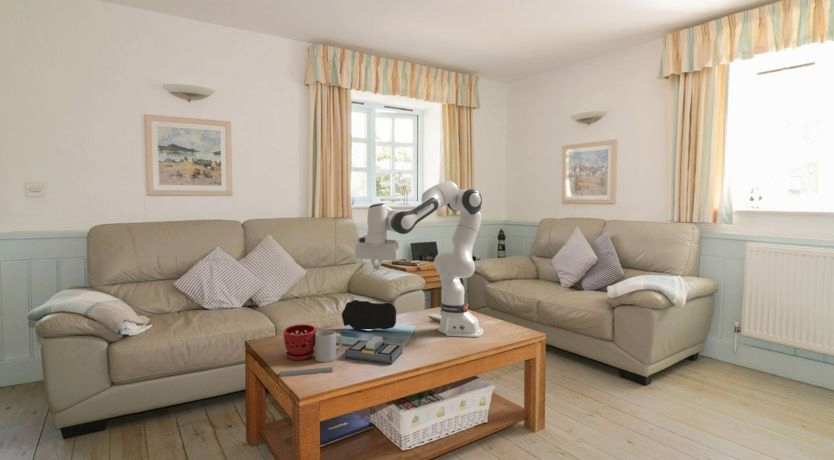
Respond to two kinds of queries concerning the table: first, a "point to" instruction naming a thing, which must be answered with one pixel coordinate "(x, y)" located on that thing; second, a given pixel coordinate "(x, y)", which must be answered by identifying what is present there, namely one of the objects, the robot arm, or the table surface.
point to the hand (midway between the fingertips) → (376, 269)
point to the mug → (326, 345)
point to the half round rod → (306, 372)
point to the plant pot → (299, 341)
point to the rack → (381, 356)
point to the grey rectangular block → (374, 344)
